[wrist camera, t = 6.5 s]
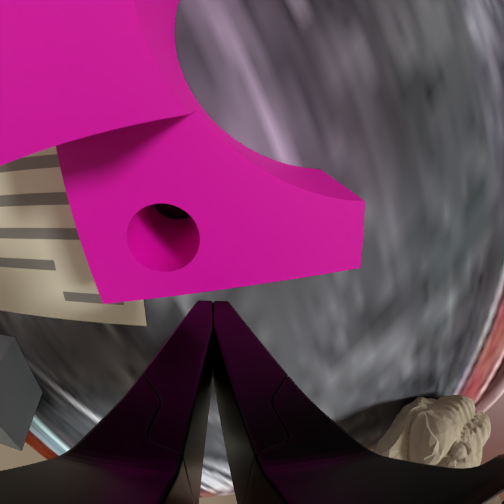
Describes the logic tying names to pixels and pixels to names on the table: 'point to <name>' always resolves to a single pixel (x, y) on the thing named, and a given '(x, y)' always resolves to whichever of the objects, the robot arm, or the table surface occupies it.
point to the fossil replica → (437, 433)
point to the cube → (16, 394)
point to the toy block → (157, 158)
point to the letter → (48, 249)
